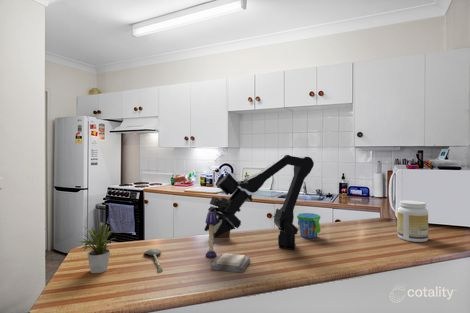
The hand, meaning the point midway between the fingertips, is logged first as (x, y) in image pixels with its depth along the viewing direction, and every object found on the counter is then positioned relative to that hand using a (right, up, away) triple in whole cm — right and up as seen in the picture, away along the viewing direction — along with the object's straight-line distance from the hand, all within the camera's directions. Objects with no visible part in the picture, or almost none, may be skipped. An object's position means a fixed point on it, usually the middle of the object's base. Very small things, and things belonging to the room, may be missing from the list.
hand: (209, 233), depth 113 cm
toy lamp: (+1, -9, 0) cm, 9 cm away
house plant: (-37, -9, -13) cm, 40 cm away
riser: (+8, -9, -9) cm, 15 cm away
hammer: (-20, -9, -5) cm, 22 cm away
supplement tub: (+91, -8, +22) cm, 94 cm away
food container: (+3, -9, +26) cm, 27 cm away
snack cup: (+45, -8, +26) cm, 52 cm away
